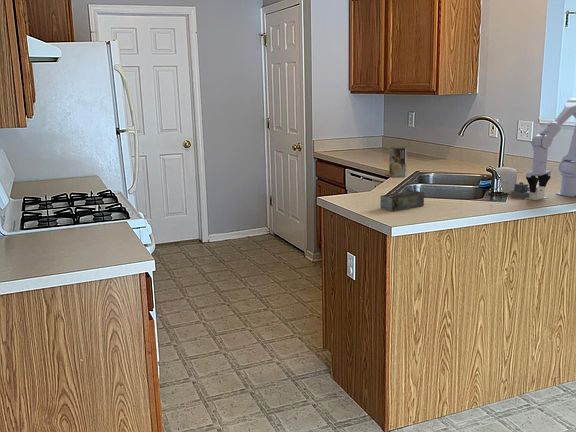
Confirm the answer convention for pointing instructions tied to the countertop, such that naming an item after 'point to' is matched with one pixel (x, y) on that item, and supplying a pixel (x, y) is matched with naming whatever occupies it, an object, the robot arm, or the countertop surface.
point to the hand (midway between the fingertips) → (537, 191)
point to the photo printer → (507, 178)
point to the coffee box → (397, 162)
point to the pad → (535, 198)
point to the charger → (537, 192)
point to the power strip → (520, 195)
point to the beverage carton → (402, 200)
